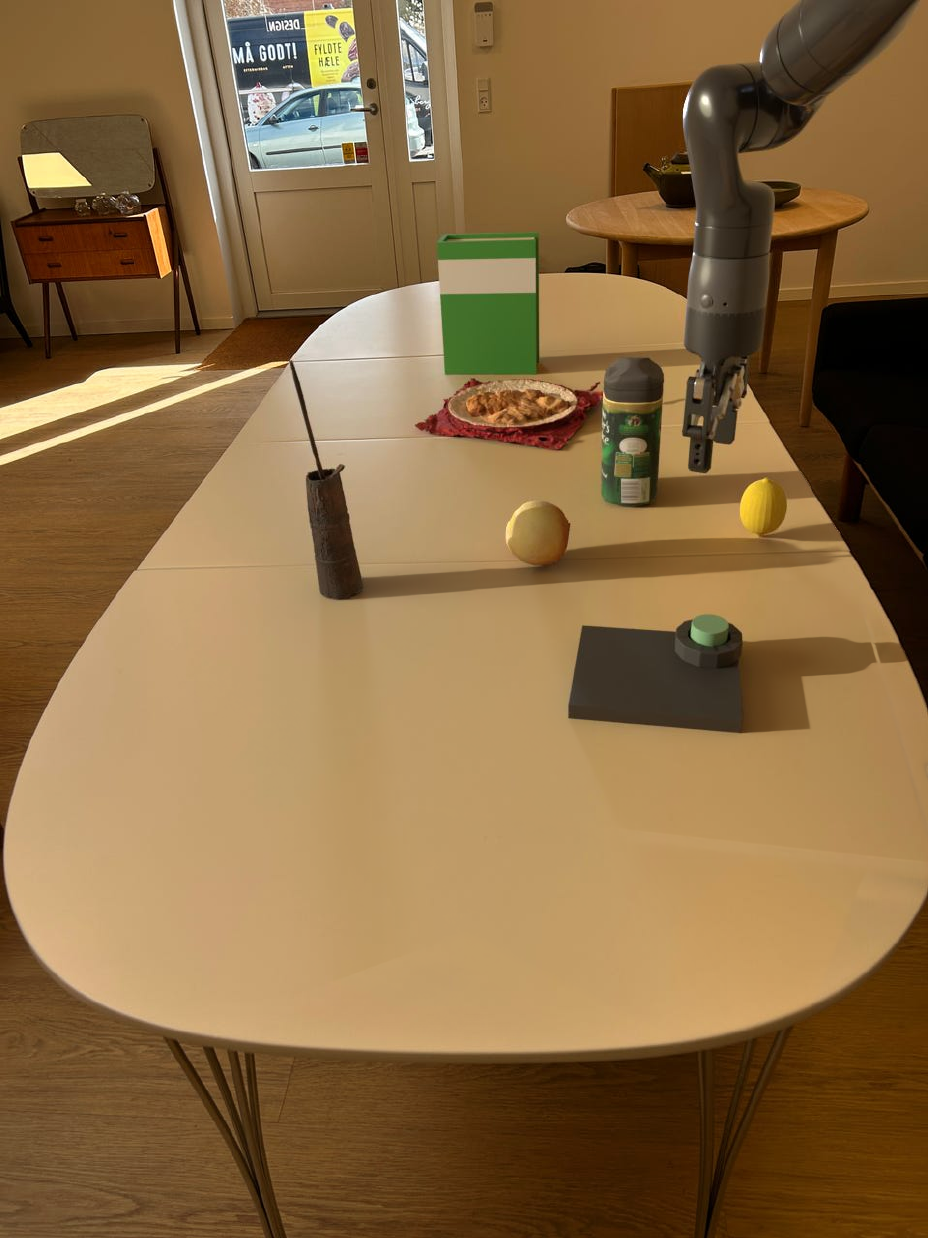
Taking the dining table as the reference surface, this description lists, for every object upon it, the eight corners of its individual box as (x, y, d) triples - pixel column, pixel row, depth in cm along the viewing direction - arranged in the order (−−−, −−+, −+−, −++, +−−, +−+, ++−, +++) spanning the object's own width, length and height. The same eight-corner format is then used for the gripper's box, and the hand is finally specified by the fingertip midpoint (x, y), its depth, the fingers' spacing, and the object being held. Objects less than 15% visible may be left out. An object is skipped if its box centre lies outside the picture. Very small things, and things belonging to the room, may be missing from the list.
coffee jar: (601, 479, 135) (605, 351, 125) (656, 480, 134) (665, 351, 124) (598, 508, 127) (602, 374, 117) (657, 510, 126) (666, 375, 116)
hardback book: (539, 362, 183) (538, 231, 170) (536, 374, 177) (535, 239, 164) (450, 362, 186) (443, 234, 173) (444, 374, 180) (436, 242, 167)
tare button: (726, 629, 95) (728, 615, 94) (727, 649, 92) (729, 634, 91) (690, 627, 96) (691, 612, 95) (690, 646, 93) (691, 632, 92)
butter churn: (372, 559, 118) (346, 337, 103) (396, 594, 111) (372, 359, 96) (301, 576, 115) (264, 350, 100) (321, 612, 108) (285, 374, 93)
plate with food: (472, 388, 173) (471, 369, 171) (606, 398, 162) (606, 379, 161) (413, 435, 155) (410, 415, 153) (558, 450, 145) (558, 429, 143)
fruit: (523, 542, 120) (522, 485, 116) (581, 557, 116) (582, 498, 112) (492, 568, 115) (490, 509, 110) (552, 584, 111) (552, 524, 106)
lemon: (766, 551, 115) (774, 491, 111) (728, 537, 119) (734, 478, 114) (790, 535, 118) (799, 477, 114) (752, 522, 122) (760, 465, 117)
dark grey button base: (737, 647, 98) (741, 619, 96) (743, 734, 86) (748, 704, 84) (582, 636, 101) (582, 609, 99) (568, 718, 89) (568, 689, 87)
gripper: (744, 322, 84) (727, 487, 93) (783, 286, 94) (764, 438, 103) (664, 315, 87) (654, 475, 96) (710, 281, 98) (698, 429, 106)
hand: (711, 456), depth 99 cm, fingers open, 8 cm apart
